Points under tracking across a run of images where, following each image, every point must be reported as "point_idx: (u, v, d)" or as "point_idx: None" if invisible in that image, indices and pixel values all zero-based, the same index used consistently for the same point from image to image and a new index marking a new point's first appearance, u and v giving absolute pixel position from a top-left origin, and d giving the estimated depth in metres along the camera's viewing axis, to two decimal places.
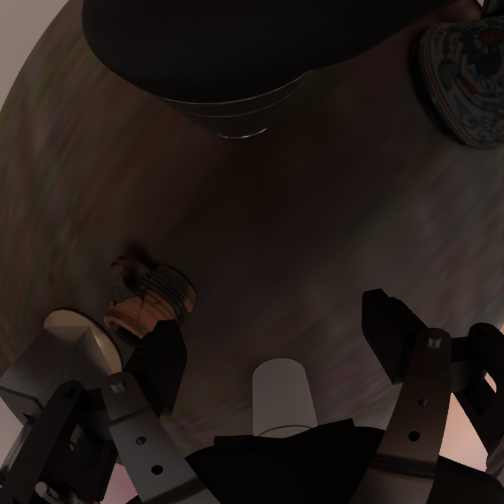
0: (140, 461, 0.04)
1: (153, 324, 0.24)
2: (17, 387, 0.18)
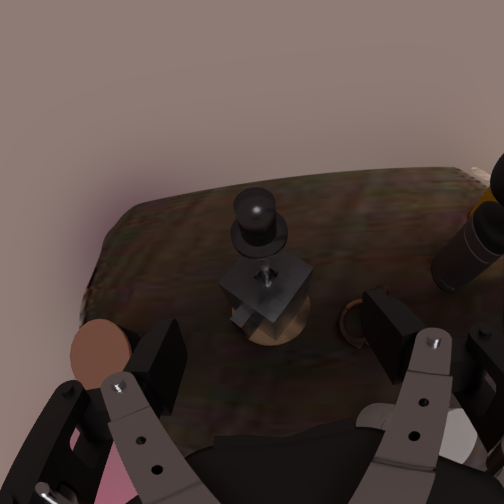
0: (140, 461, 0.04)
1: None
2: None
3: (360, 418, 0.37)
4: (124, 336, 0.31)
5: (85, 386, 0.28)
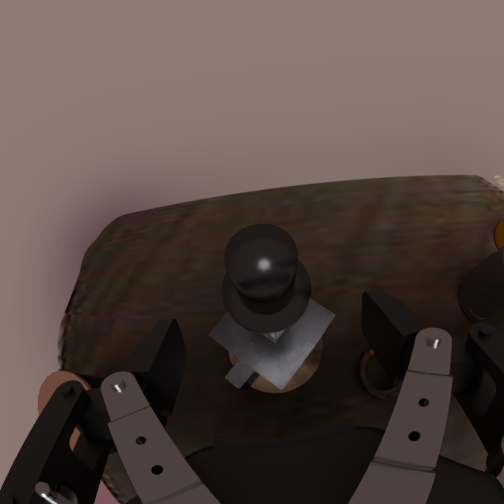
0: (140, 461, 0.04)
1: None
2: None
3: None
4: None
5: None
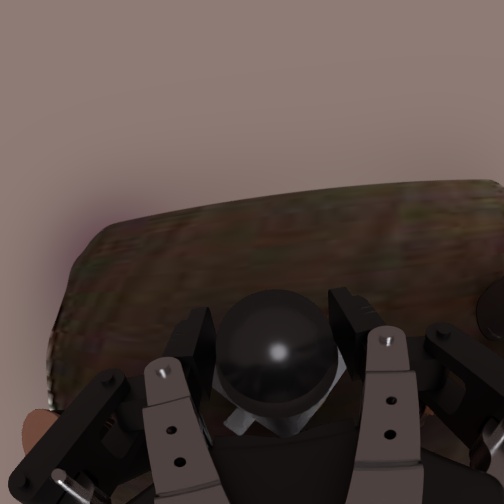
0: (165, 451, 0.04)
1: None
2: None
3: None
4: None
5: None
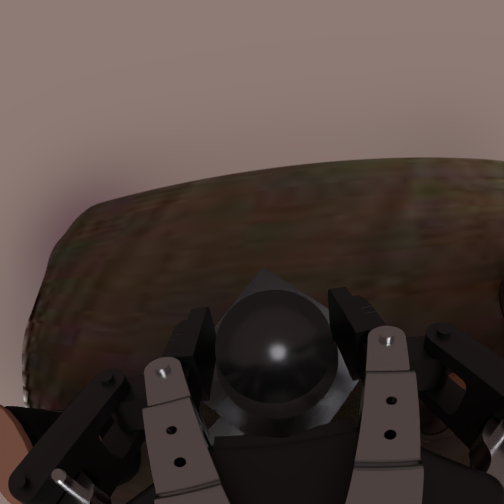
0: (165, 451, 0.04)
1: None
2: None
3: None
4: (26, 446, 0.10)
5: (1, 490, 0.07)
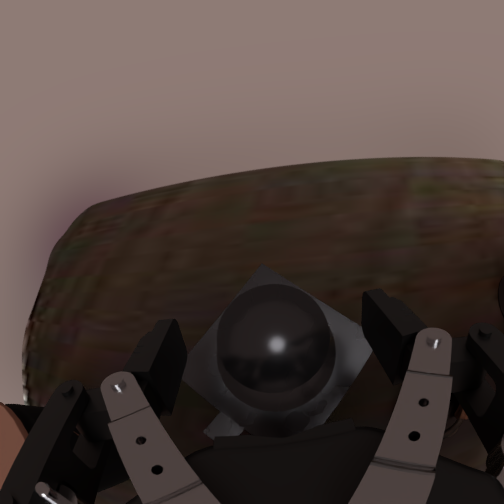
0: (140, 461, 0.04)
1: None
2: None
3: None
4: None
5: (0, 488, 0.07)
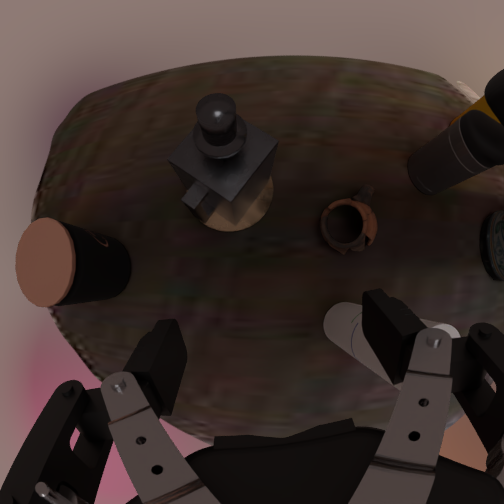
0: (140, 461, 0.04)
1: (371, 224, 0.38)
2: None
3: (328, 318, 0.41)
4: (66, 232, 0.26)
5: (32, 299, 0.25)
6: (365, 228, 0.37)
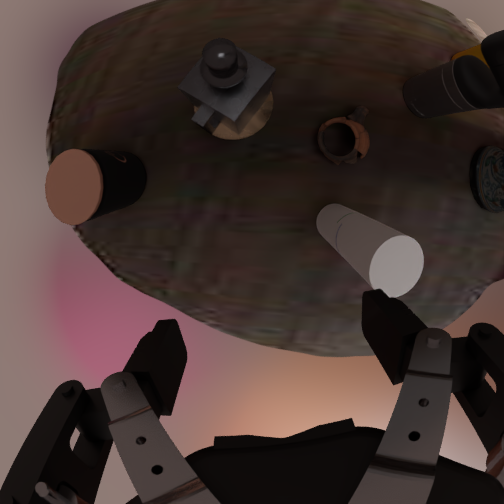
0: (140, 461, 0.04)
1: (363, 142, 0.40)
2: None
3: (320, 216, 0.48)
4: (92, 159, 0.30)
5: (65, 220, 0.32)
6: (357, 145, 0.40)
